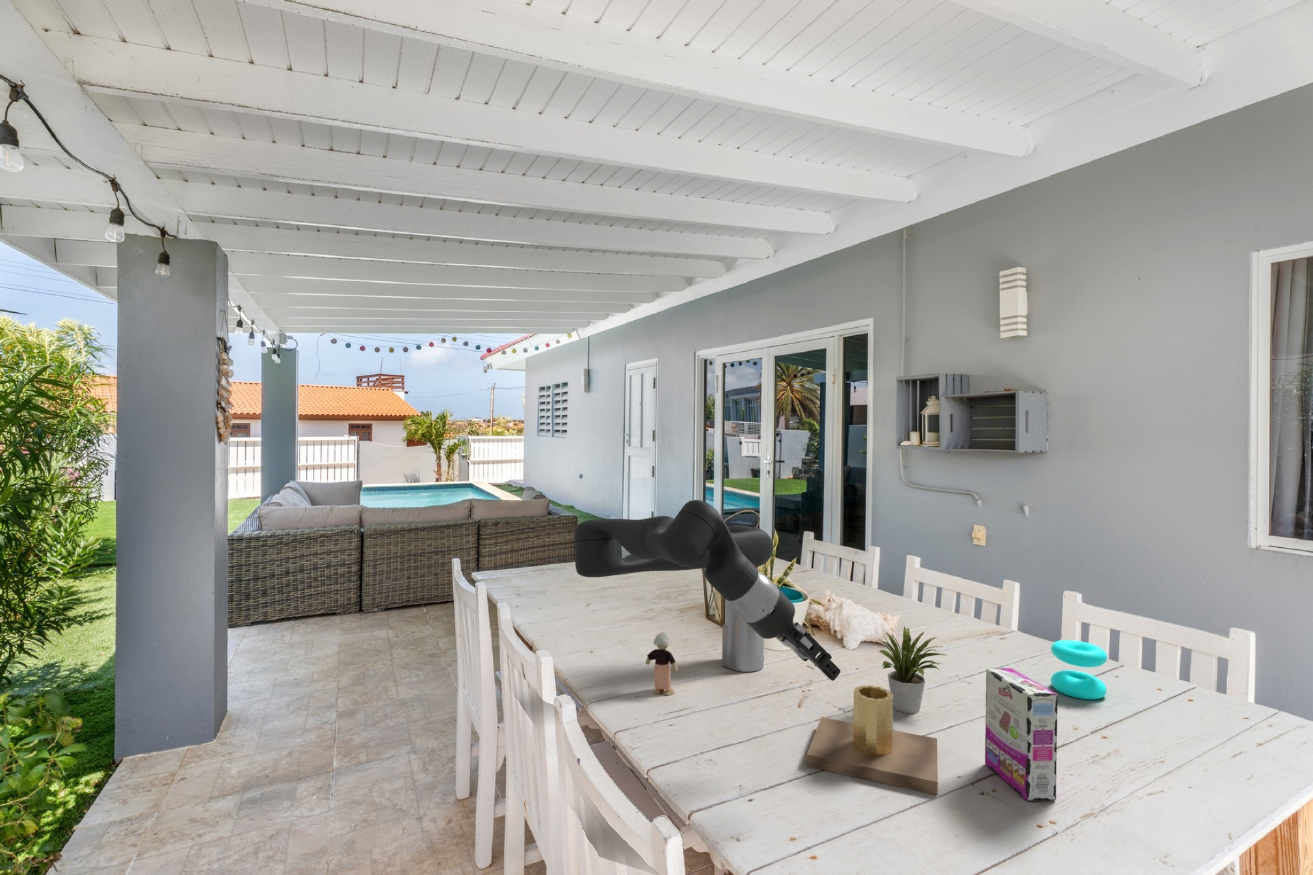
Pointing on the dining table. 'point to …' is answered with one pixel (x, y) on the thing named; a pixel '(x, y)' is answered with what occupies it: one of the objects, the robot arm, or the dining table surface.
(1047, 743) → the candy bar box
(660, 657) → the grandmother figurine
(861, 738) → the brass sleeve
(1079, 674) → the donuts
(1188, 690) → the dining table surface
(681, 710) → the dining table surface
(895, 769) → the post plate
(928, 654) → the house plant
